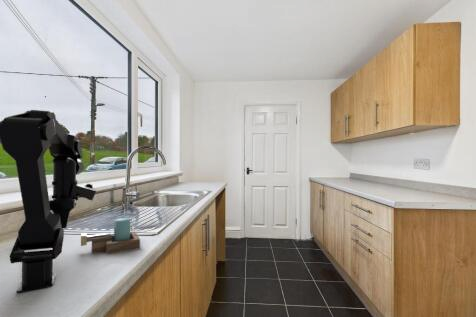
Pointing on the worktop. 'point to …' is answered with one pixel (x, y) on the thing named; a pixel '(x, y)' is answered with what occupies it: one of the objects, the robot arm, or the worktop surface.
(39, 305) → the worktop surface
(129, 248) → the dock
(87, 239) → the lock bolt
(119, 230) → the peg
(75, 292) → the worktop surface
